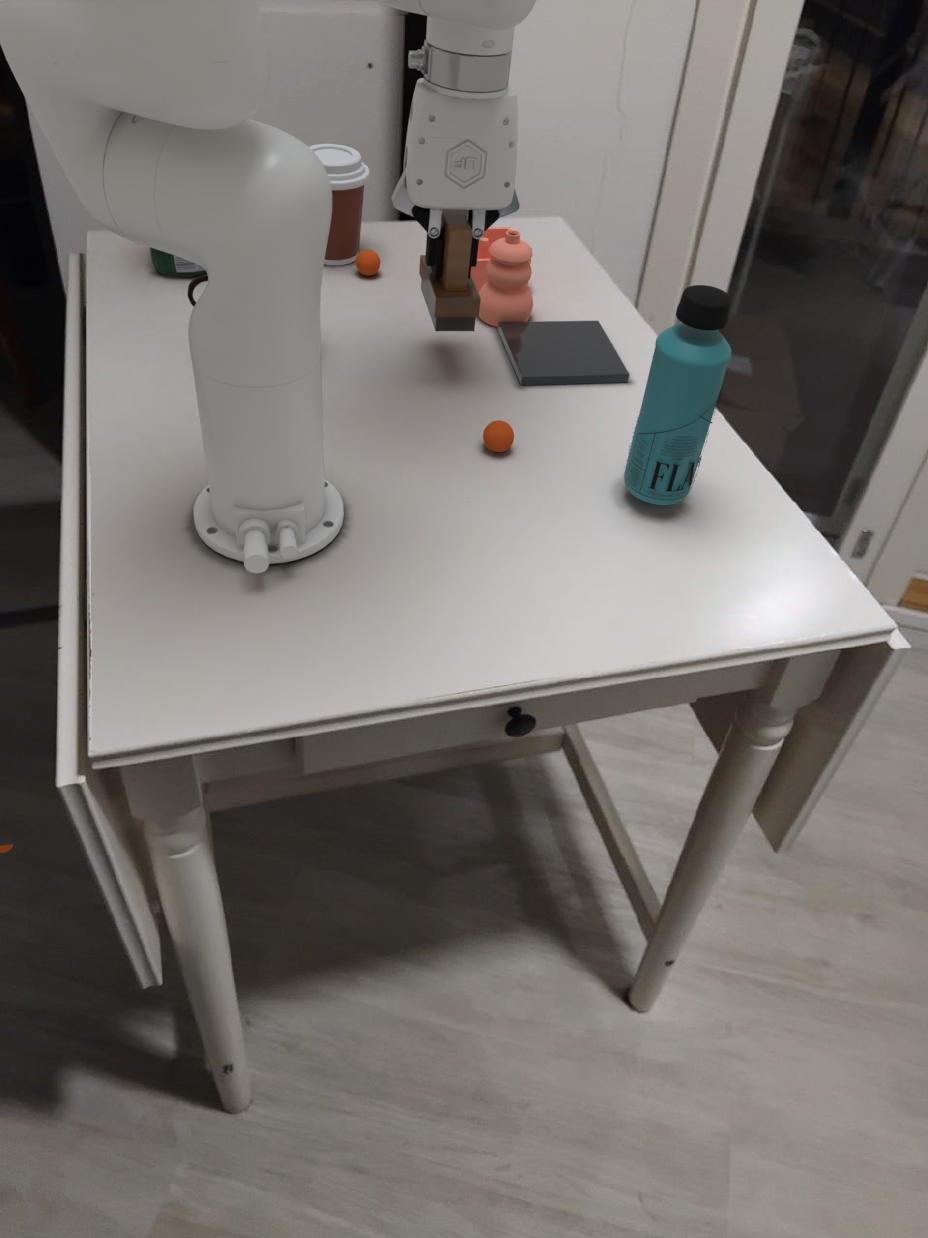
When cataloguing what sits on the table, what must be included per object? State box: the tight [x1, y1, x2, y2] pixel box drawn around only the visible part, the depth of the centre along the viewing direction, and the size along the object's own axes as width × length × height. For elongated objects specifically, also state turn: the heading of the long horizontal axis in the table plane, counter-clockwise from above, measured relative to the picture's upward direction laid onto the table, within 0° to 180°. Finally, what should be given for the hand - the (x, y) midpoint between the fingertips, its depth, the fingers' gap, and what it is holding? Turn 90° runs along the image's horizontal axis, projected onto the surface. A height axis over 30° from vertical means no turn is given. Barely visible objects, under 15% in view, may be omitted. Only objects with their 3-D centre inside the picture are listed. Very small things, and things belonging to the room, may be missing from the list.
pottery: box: [471, 226, 534, 328], centre depth 111 cm, size 18×10×10 cm, turn 14°
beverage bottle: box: [623, 284, 732, 506], centre depth 81 cm, size 6×7×20 cm
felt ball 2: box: [355, 248, 381, 277], centre depth 115 cm, size 3×3×3 cm
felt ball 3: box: [482, 419, 515, 453], centre depth 91 cm, size 3×3×3 cm
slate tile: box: [497, 320, 631, 386], centre depth 105 cm, size 12×12×1 cm
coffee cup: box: [308, 143, 371, 266], centre depth 115 cm, size 9×9×12 cm
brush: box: [418, 209, 481, 332], centre depth 95 cm, size 10×4×10 cm, turn 11°
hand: (450, 271), depth 96 cm, fingers closed on brush, 2 cm apart
